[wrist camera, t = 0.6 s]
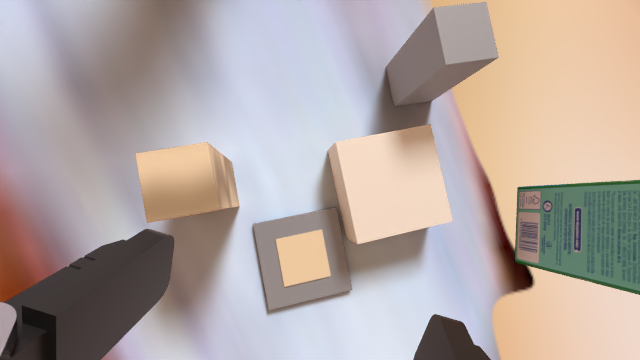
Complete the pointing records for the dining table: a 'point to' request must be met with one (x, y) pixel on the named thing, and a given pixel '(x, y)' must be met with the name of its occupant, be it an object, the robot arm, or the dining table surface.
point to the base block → (389, 184)
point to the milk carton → (582, 231)
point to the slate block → (442, 53)
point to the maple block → (185, 181)
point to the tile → (302, 257)
